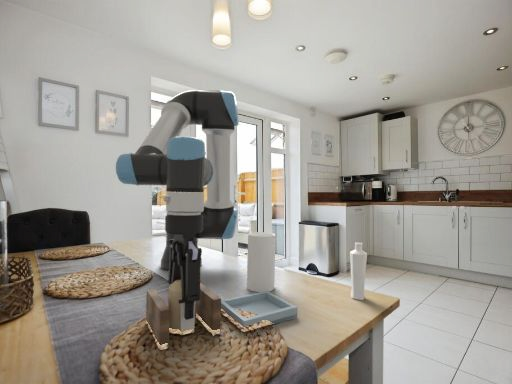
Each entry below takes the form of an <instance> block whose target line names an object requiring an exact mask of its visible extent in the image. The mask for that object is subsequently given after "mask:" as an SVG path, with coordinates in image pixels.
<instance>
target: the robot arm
mask: <svg viewBox="0 0 512 384" xmlns="http://www.w3.org/2000/svg"><path fill="white" fill-rule="evenodd" d="M160 114H161V115H160V117H159V118H158V119H157V121H156V123H155V124H154V126H153V127H152V128H151V130H150V131H149V133H148V134H147V136H146V138H145V139H144V140H143V141H142V143H141V144H140V146H139V147H138V149H137V150H136V151H135V152H134V153H132V152H129V153H122V154H120V155H119V156H118V158H117V159H116V162H115V163H116V164H115V172H116V175H117V178H118V180H119V182H120V183H122V184H125V185H133V186H135V185H136V186H166V193H165V194H166V195H165V196H164V197H163V202H164V203H165V211H166V215H165V223H164V225H165V226H164V231H165V233H166V235H165V237H166V239H165V241H166V242H165V243H166V244H165V248H164V251H163V254H162V256H161V259H160V268H161V269H162V270H165V271H168V278H167V279H168V281H167V283H168V285H171V284H172V283H173V282H174V281H176V280H181V287H182V300H178V301H179V304H180V329H179V330H180V331H181V332H182V331H186V330H189V329H194V319H195V301H198V300H200V280H201V267H202V265H203V264H202V263H203V261H202V260H203V259H202V254H203V252H202V251H203V250H202V248H201V247H199V245H198V242H199V241H198V239H205V240H208V239H209V240H212V239H213V240H220V241H221V240H231V239H232V238H234V235H235V233H236V232H235V231H236V225H237V219H238V213H239V212H238V211H239V210H238V208H235V204H234V203H233V201H232V200H231V135H232V134H233V133H234V132H235V127H238V126H239V112H238V104H237V99H236V95H235V93H234V92H232V91H227V90H195V89H193V90H191V89H190V90H187V91H183V92H180V93H178V94H177V95H175V96H173V97H171V98H170V99H168V100H167V102H166V103H165V104H164V105H163V107H162V108H161V111H160ZM190 125H199V126H201V131H202V132H204V134H205V136H206V137H205V141H206V146H205V141H204V140H203V139H200V138H198V137H193V136H180V135H182V134H181V133H182V131H183V130H184V129H186V128H187V127H188V126H190ZM205 186H206V200H205V193H204V192H205V190H204V187H205ZM194 330H195V329H194Z"/></svg>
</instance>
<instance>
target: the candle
mask: <svg viewBox="0 0 512 384" xmlns="http://www.w3.org/2000/svg"><path fill="white" fill-rule="evenodd" d="M178 300H182V287H181V280H176V281H174V282H173V283H172V284H169V286H168V299H167V301H168V304H167V306H168V307H169V308H170V327H169V328H172V329H180V304H179V301H178ZM196 322H197V318H196V301H195V319H194V325H195V323H196ZM196 324H197V323H196Z"/></svg>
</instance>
